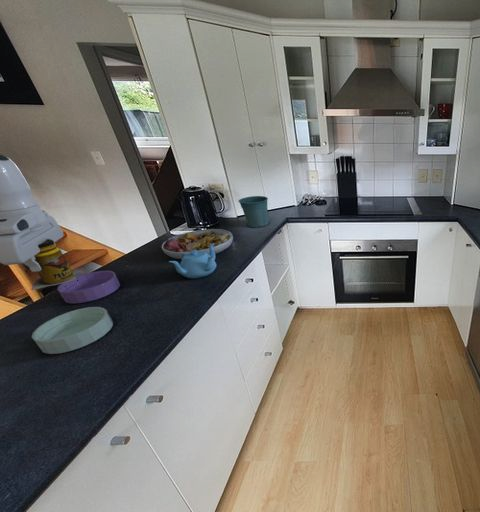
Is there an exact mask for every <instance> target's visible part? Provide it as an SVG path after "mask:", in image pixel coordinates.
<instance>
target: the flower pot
mask: <svg viewBox="0 0 480 512" xmlns="http://www.w3.org/2000/svg"><path fill="white" fill-rule="evenodd" d="M268 200H269V198H268V197H267V196H264V195H263V196H262V195H252V196H247V197H243V198H240V199H238V203H239V204H240V208H241V209H242V212H243V214H244V215H243V216H244V217H245V221H246V224H247V226H248V227H249V228H259V227H260V228H261V227H262V228H263V227H266V226H267V225H269V223H270V222H269V212H268V204H269V203H268Z"/></svg>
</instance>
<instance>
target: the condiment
mask: <svg viewBox="0 0 480 512" xmlns="http://www.w3.org/2000/svg"><path fill="white" fill-rule="evenodd" d="M55 244H56V242H55V243H54V241H53V240H51V239H47V240H46V241H44V242H43V243H41V244H39V245H38V247H39V249H40V252H39V253H38V254H36V255H35V256H34V257H35V258H36V259H35V261H36V262H37V263H41V264H42V266H43V267H44V268H43V269H42V270H40V271H37V275H38V276H39V277H38V278H35V279H33V284H32V286H31V289H30V290H31V291H34V290H39V289H42V288H47V287H51V286H57V285H61V284H62V283H66V282H70V281H74V280H75V279H76V277H77V270H72V269H71V266H70V265H69V263H68V261H67V259H66V258H65V256H64V254H63V252H62V250H61V248H59V247H58V246H57V244H56V245H55Z"/></svg>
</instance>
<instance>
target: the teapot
mask: <svg viewBox="0 0 480 512" xmlns="http://www.w3.org/2000/svg"><path fill="white" fill-rule="evenodd" d="M213 246H214V243H212V244H211V245H210V247H209V254H207V253H206V252H204V251H197V250H192V251H190V253H183V254H182V259H181V261H180V263H179V261H176V260H169V261H168V263H170V264H173V265H174V267H175V271H176V272H177V273H178V274H179V275H181V276H183V277H185V278H188V279H200V278H204V277H207V276H209V275H211V274H212V273H214V272H215V270H216V268H217V262H216V261H215V260H216V254H215V252H214V250H213Z"/></svg>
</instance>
